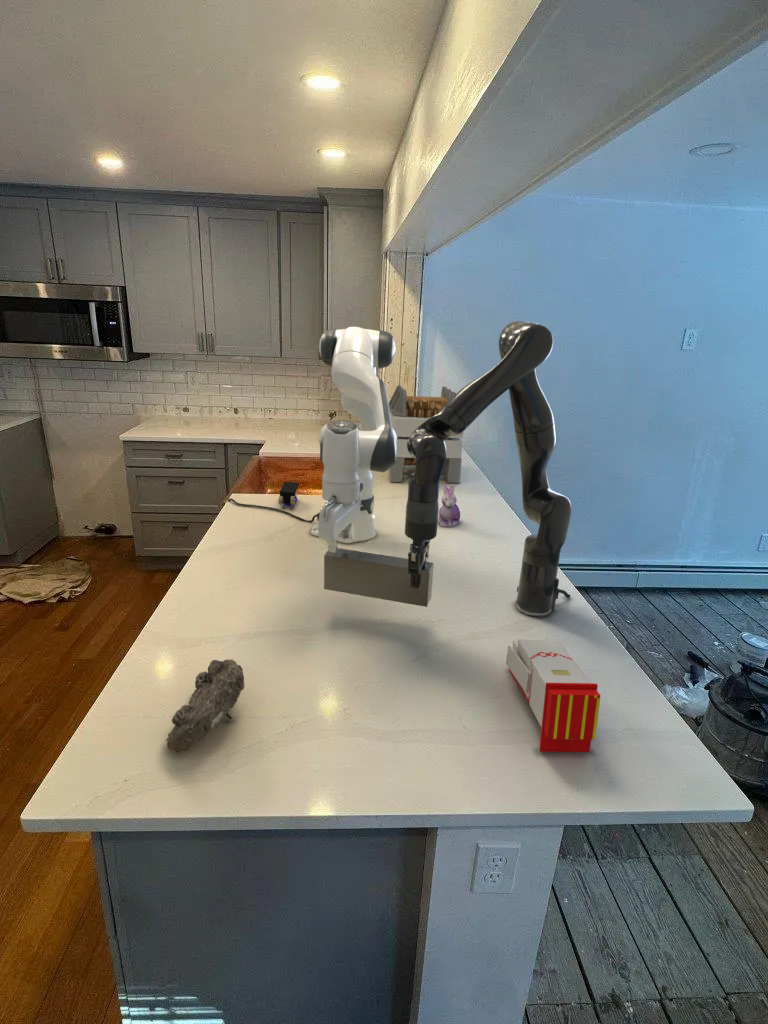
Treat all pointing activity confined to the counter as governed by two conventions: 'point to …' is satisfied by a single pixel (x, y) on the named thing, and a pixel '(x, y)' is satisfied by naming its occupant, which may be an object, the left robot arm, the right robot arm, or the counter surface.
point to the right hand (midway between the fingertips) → (417, 581)
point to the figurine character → (288, 494)
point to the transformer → (410, 416)
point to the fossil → (206, 705)
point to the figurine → (449, 508)
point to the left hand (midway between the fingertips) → (339, 544)
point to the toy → (556, 694)
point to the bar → (376, 576)
